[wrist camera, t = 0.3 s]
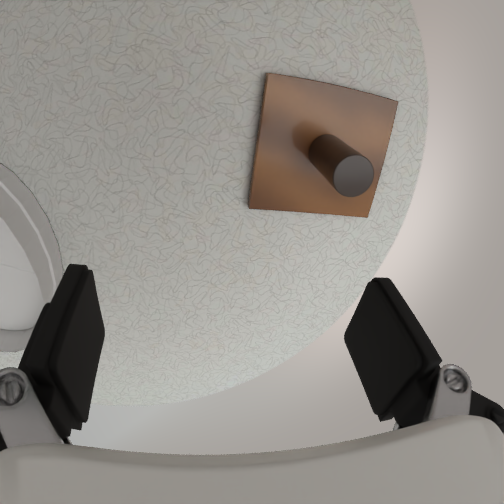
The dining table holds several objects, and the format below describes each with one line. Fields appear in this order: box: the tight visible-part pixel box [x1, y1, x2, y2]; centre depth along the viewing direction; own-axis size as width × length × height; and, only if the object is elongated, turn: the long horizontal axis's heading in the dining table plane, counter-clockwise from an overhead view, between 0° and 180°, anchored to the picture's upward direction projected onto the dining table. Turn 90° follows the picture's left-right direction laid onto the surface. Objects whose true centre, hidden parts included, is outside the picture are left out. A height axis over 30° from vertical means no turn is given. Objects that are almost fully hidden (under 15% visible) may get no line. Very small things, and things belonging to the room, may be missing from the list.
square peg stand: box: [248, 73, 398, 218], centre depth 22 cm, size 11×11×6 cm
